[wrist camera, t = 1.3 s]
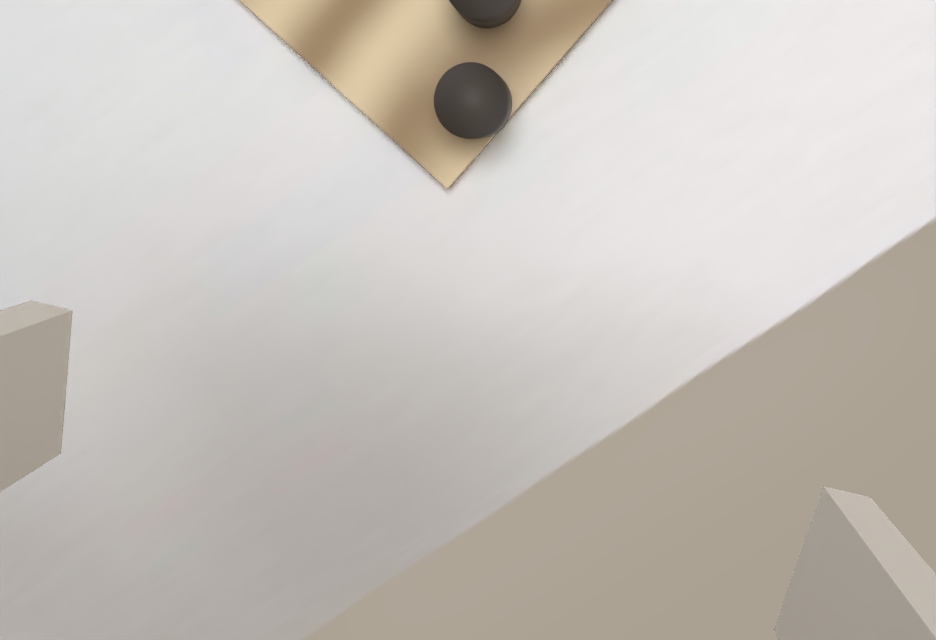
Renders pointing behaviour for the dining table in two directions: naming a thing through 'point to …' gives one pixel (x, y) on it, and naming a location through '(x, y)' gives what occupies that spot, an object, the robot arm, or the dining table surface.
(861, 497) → the robot arm
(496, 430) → the dining table surface
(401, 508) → the dining table surface
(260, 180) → the dining table surface
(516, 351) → the dining table surface
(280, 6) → the board
